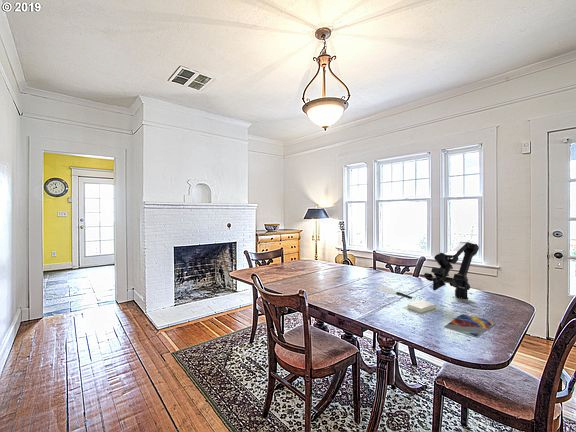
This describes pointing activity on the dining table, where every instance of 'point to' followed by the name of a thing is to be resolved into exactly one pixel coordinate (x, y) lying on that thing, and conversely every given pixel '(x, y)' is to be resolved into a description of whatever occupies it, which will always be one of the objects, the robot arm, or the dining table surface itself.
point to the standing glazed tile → (421, 306)
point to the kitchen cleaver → (392, 291)
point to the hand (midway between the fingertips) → (433, 290)
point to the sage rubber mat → (425, 311)
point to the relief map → (470, 325)
